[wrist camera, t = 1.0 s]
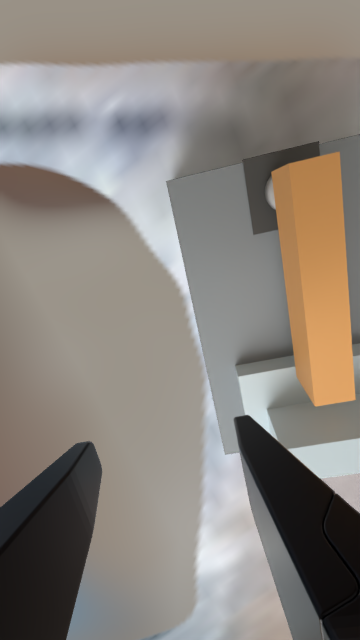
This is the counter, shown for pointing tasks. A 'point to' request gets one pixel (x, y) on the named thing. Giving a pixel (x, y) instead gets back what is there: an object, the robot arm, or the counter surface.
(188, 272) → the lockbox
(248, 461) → the robot arm
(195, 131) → the counter surface
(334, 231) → the orange square pillar
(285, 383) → the cover
